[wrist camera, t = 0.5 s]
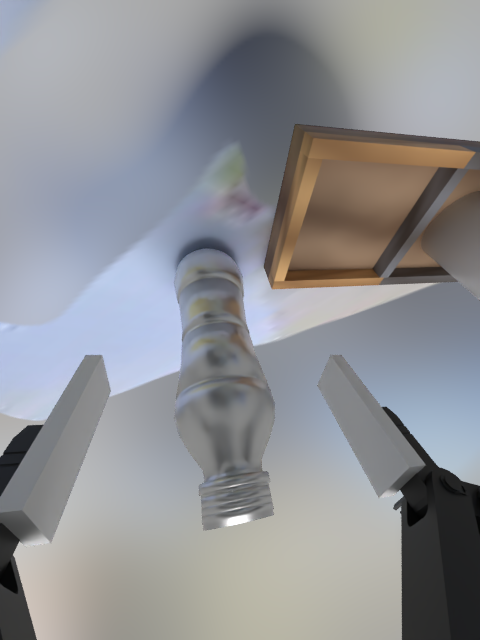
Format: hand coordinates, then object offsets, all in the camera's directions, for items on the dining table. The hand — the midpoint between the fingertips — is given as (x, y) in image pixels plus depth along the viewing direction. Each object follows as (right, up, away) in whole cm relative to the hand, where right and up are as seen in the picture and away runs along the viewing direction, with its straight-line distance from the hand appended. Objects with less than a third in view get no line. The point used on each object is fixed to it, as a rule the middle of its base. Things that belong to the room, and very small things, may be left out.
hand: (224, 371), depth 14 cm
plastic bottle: (-2, +9, +10) cm, 14 cm away
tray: (+16, +13, +9) cm, 23 cm away
